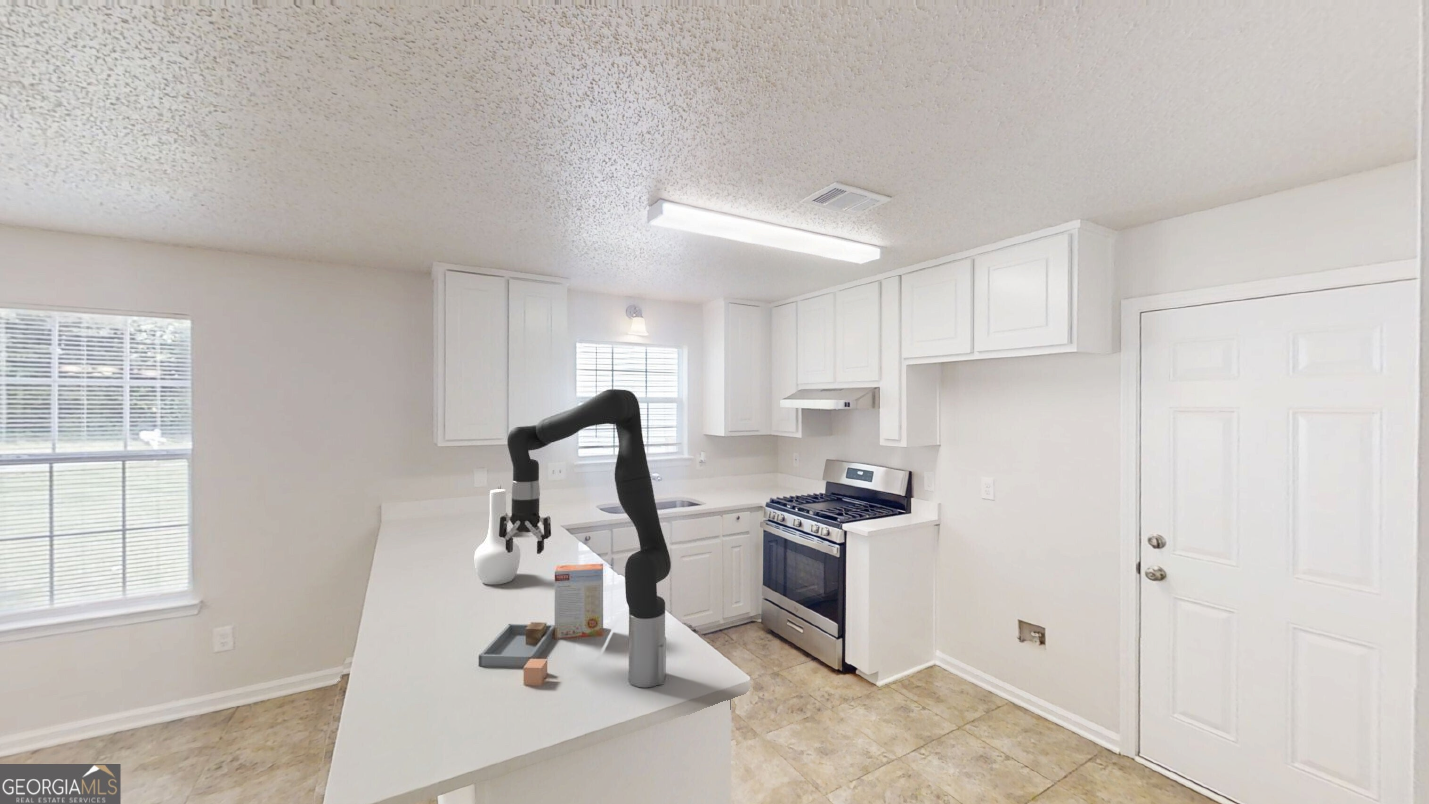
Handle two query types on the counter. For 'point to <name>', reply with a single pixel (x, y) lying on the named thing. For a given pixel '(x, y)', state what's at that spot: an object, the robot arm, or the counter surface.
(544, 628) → the walnut cube
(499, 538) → the vase
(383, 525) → the counter surface
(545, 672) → the terracotta cube
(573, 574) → the cracker box
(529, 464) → the robot arm
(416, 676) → the counter surface
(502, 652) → the slate tray
